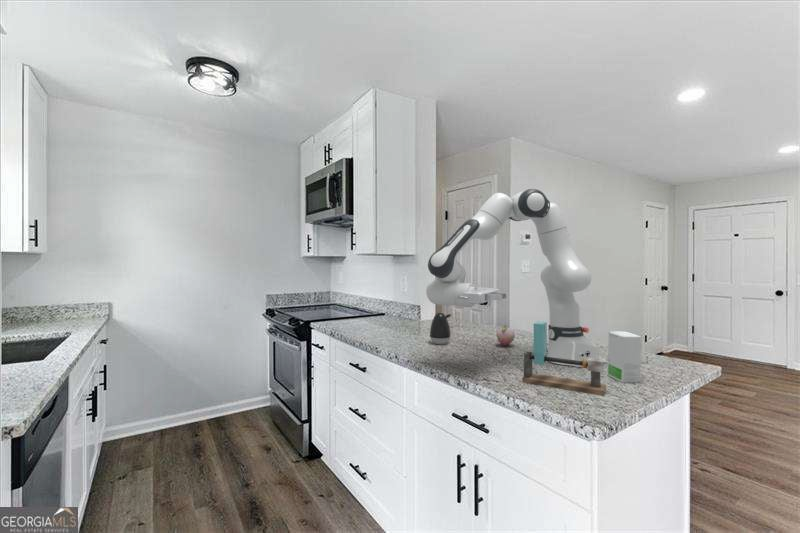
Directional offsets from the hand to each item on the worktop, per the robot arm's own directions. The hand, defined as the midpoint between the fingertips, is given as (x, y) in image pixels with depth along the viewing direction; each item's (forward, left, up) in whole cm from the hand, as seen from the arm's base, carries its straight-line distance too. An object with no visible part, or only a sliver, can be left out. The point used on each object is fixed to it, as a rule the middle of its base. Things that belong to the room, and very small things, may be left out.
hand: (504, 296), depth 133 cm
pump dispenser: (+6, -56, -28) cm, 63 cm away
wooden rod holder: (-13, +13, -28) cm, 34 cm away
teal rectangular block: (-9, +9, -22) cm, 25 cm away
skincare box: (-37, +12, -28) cm, 49 cm away
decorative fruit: (-22, -43, -28) cm, 56 cm away
